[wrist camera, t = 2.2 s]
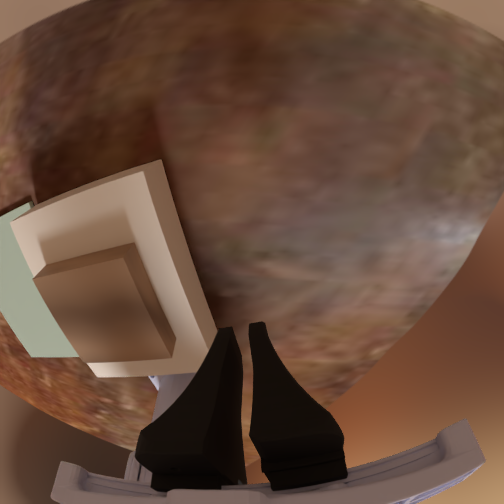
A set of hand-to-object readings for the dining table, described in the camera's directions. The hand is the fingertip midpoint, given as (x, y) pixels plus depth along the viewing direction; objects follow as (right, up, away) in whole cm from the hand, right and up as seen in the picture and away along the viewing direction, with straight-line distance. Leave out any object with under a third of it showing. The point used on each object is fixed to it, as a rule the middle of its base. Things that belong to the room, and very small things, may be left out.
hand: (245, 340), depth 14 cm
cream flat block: (-10, +2, +9) cm, 14 cm away
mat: (-23, 0, +10) cm, 25 cm away
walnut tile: (-10, +1, +5) cm, 11 cm away
